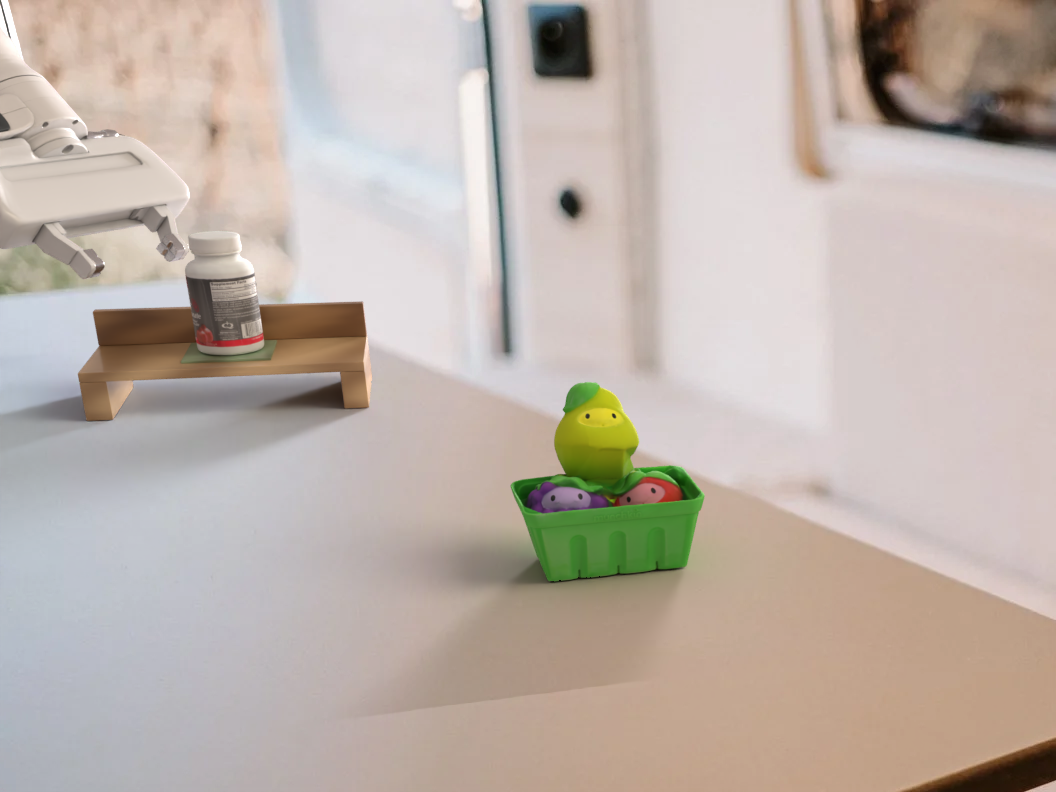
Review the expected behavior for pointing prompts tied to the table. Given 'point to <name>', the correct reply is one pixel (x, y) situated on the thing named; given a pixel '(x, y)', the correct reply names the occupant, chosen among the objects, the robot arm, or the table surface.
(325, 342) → the bench
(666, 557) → the fruit basket
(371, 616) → the table surface
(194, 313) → the pill bottle
